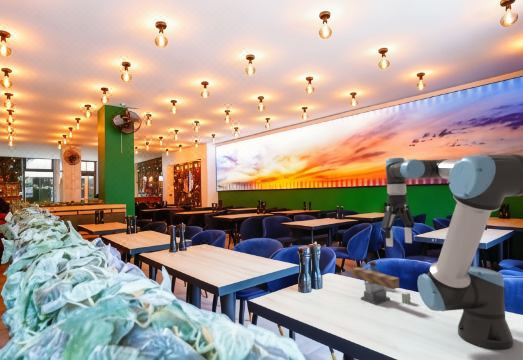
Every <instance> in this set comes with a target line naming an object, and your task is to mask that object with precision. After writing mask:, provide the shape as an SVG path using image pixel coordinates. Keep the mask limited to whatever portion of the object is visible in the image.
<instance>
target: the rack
mask: <svg viewBox="0 0 523 360" xmlns="http://www.w3.org/2000/svg"><path fill="white" fill-rule="evenodd" d="M365 283H367V282H365V281H364V284H365ZM364 287H365V290H364V291H366V286H365V285H364ZM401 303H403V304H406V305H407V304H409V303H411V293H410V292H407V291H405V292H402V293H401Z"/></svg>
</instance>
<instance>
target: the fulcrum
mask: <svg viewBox="0 0 523 360" xmlns="http://www.w3.org/2000/svg"><path fill="white" fill-rule="evenodd" d="M365 286H366V290H363V296H361V297H360V300H362V301H364V302H366V303H369V304H372V305H374V306H376V305H379V304H382V303H385V302H388V301H391V297H389V296H387V289H385V287H384V286H381V285H377V284H374V283H371V282H367V283H365V282H364V287H365Z"/></svg>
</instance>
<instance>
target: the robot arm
mask: <svg viewBox="0 0 523 360" xmlns="http://www.w3.org/2000/svg"><path fill="white" fill-rule="evenodd" d="M385 175H386V177H385V178H386V190H387V191H386V193H387V194H388V195H386V196H387V204H389V205H390V206H388V205H387V206H386V205H385V206H384V207H385V208H384V210H385V211H384V214H383V219H382V223H381V227H380V228H381V230H382V231H385V232H384V235H385V244H386V247H389V248H390V247H391V248H393V247H394V235H393V230H392V228H393V225H394V224H395V221H396V219H397V218H398V217H399V218H400V219H401V221H402V223H403V224H404V226H405V227H404V243H406V244H412V243H413V236H412V229H413V228H414V227H415V220H414V219H413V216H412V213H411V211H410V205H409V204H407V203H408V200H407V199H408V197H407V182H406V181H407V180H423V179H424V180H428V179H439V180H440V179H442V180H448V183H449V184H448V187H449V190H450V191H451V193H452V195H453V196H452V197H453V199H454V200H455V202H456V204H455V206H454V207H455V208H454V211H453V213H452V217H451V219H450V222H449V225H448V230H447V232H446V236H445V238H444V242H443V245H442V247H441V251H440V254H439V256H438V260H437V261H436V262H433V263H432V264H431V265H430V266H429V271H428V273H422V274H420V275H419V276H418V278H417V290H418V294H419V296H420V299H421V300H422V302H423V304H424V305H425V306H426V307H427V309H429V310H432V311H434V312H435V311H436V312H446V311H448V312H449V311H459V310H462V314H461V316H460V319H459V321H458V325H457V333H458V334H457V335H458V336H459V337H460V338H461V339H463V340H464V341H466V342H467V343H469V344H472V345H474V346H478V347H482V348H486V349H491V350H506V349H510V348H512V347H513V346H514V336H513V334H512V332H511V329H510V327H509V324H508V322H507V320H506V306H505V305H506V304H505V303H506V302H505V301H506V300H505V299H506V295H505V288H506V286H505V283H504V277H503V275H502V274H501V273H500V272H498V271H495V270H492V269H489V268H485V267H480V266H472V264H473V261H474V258H475V255H476V253H477V251H478V247H479V245H480V242H481V240H482V238H483V235H484V232H485V229H486V228H487V227H486V226H487V224H488V221H489V220H490V216H491V214H492V212H496V211H498V210H500V209H501V207H502V204H503V202H504V200H505V198H506V197H521V196H523V154H519V153H518V154H514V153H512V154H511V153H510V154H481V153H479V154H474V155H467V156H464V157H462V158H460V159H448V158H442V159H416V158H415V159H413V158H412V159H407V160H405V158H404V157H389V158H387V159H386V160H385Z"/></svg>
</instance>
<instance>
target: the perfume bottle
mask: <svg viewBox="0 0 523 360" xmlns="http://www.w3.org/2000/svg"><path fill="white" fill-rule="evenodd" d="M366 270H370V271H374V272H378V273H382V272H381V271H380V269H378V268H377V262H376V261H369V265H368V268H366ZM365 282H367V281H364V283H365Z"/></svg>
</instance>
